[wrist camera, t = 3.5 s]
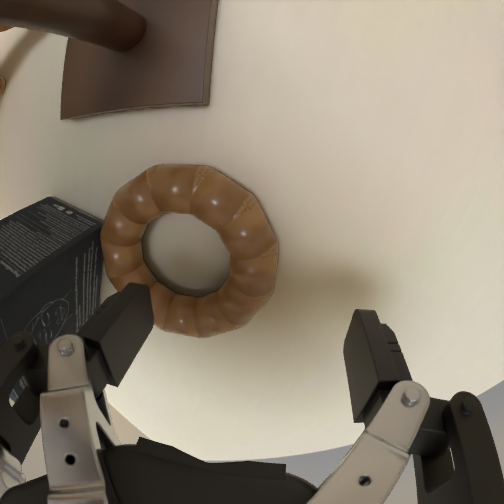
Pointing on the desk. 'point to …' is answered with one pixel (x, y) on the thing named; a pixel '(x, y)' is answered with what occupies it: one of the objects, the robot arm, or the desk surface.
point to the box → (48, 272)
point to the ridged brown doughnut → (214, 215)
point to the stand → (125, 50)
